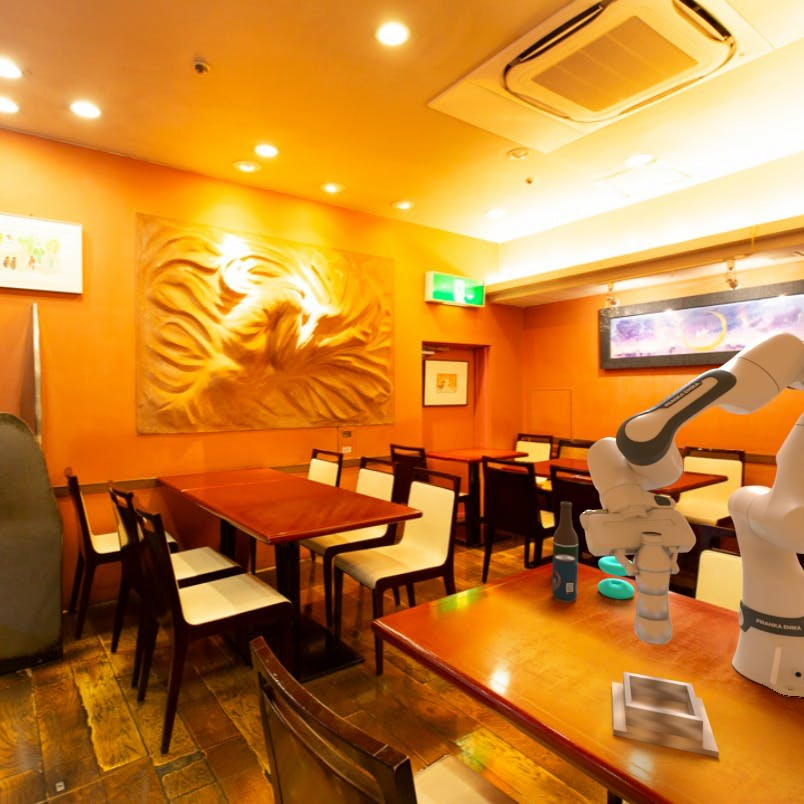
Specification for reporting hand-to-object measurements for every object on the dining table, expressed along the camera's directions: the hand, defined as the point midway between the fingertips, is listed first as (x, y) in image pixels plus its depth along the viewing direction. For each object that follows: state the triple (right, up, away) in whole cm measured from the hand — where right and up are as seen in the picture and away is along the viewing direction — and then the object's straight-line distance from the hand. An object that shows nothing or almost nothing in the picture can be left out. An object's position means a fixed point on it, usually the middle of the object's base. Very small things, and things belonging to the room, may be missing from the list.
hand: (654, 573), depth 97 cm
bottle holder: (+1, -27, 0) cm, 27 cm away
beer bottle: (+7, -25, +74) cm, 78 cm away
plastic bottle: (0, -13, +1) cm, 13 cm away
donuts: (+17, -25, +59) cm, 67 cm away
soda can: (+1, -25, +56) cm, 61 cm away
